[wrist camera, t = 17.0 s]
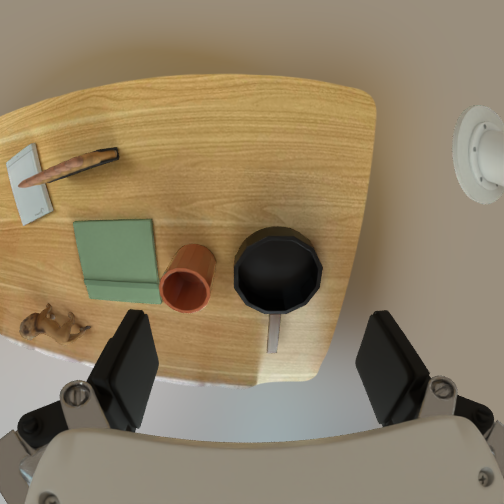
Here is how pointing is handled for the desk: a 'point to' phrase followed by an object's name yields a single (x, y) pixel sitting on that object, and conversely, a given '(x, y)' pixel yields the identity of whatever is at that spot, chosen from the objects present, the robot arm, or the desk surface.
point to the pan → (276, 275)
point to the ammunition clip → (72, 167)
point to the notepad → (118, 260)
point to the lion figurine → (49, 327)
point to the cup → (188, 279)
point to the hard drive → (31, 198)
